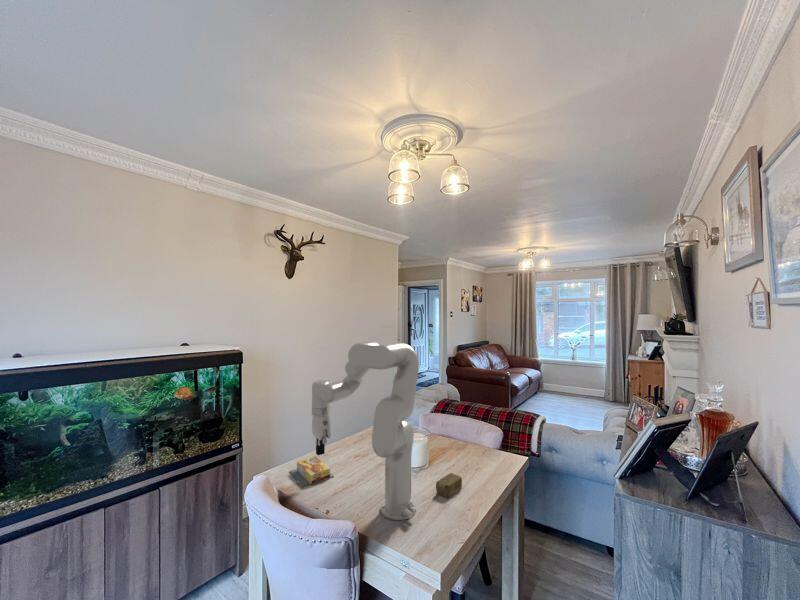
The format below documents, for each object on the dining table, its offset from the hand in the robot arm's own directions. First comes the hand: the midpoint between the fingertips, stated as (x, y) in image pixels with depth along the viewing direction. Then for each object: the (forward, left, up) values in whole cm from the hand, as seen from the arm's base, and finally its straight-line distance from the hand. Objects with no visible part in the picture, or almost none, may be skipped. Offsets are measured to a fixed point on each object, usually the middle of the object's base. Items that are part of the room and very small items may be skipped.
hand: (320, 453), depth 142 cm
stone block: (-37, -39, -12) cm, 56 cm away
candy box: (-1, 0, -9) cm, 9 cm away
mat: (+8, +1, -11) cm, 14 cm away
